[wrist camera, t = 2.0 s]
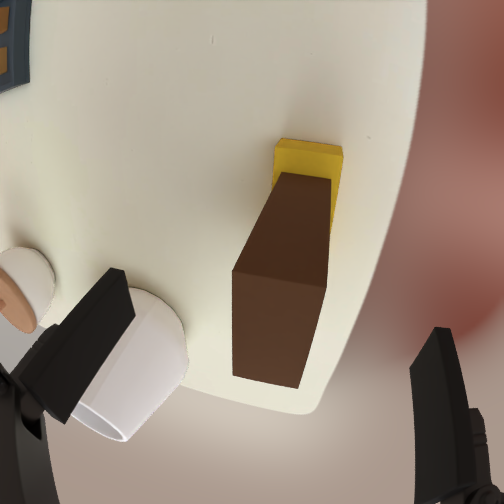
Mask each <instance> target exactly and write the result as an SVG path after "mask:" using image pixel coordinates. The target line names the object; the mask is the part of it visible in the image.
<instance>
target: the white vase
mask: <svg viewBox="0 0 504 504" xmlns="http://www.w3.org/2000/svg"><path fill="white" fill-rule="evenodd" d="M129 292H130V296H131V299H132V303H133V307H134V310H135V314H136V316H135V318H134V319H133V321H132V322H131V324H130V325H129V326H128V328H127V329H126V331H125V332H124V334H123V335H122V337H121V338H120V340H119V341H118V342H117V344H116V345H115V347H114V348H113V350H112V351H111V353H110V354H109V356H108V357H107V359H106V360H105V362H104V363H103V365H102V366H101V368H100V369H99V371H98V372H97V374H96V375H95V377H94V379H93V380H92V382H91V383H90V385H89V386H88V388H87V389H86V391H85V393H84V394H83V396H82V397H81V399H80V400H79V402H78V404H77V405H76V407H75V409H74V410H73V412H72V413H71V415H72V416H73V417H74V418H76V419H77V420H78V421H80V422H81V423H82V424H84V425H85V426H87V427H89V428H90V429H92V430H94V431H95V432H97V433H99V434H101V435H103V436H105V437H107V438H110V439H113V440H116V441H121V442H122V441H127V440H129V438H130V437H131V436H132V435H133V434H134V433H135V432H136V431H137V430H138V429H139V428H140V427H141V426H142V425H143V423H144V422H145V421H146V420H147V419H148V418H149V417H150V416H151V415H152V413H154V411H155V410H156V409H157V408H158V407H159V406H160V405H161V404H162V403H163V402H164V401H165V399H166V398H167V397H168V396H169V395H170V394H171V393H172V392H173V391H174V389H175V388H176V387H177V386H178V385H179V384H180V383H181V381H182V380H183V378H184V376H185V374H186V372H187V369H188V366H189V357H188V352H187V346H186V341H185V335H184V330H183V326H182V322H181V320H180V319H179V318H178V316H177V315H176V313H175V312H174V310H173V309H172V308H171V307H169V306H168V305H167V304H166V303H165V302H164V301H162V300H161V299H160V298H159V297H157V296H155V295H153V294H151V293H149V292H147V291H145V290H141V289H136V288H131V287H130V288H129Z"/></svg>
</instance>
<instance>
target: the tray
mask: <svg viewBox="0 0 504 504" xmlns="http://www.w3.org/2000/svg"><path fill="white" fill-rule="evenodd" d="M0 7H9V16H8V30H7V31H5V32H4V33H2V34H0V48H3V47H7V72H6V73H4V74H2V75H0V94H1V93H3V92H5V91H8V90H10V89H13V88H15V87H18V86H21V85H23V84H26V83H29V82H30V80H29V26H30V11H31V0H0Z"/></svg>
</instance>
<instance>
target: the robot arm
mask: <svg viewBox="0 0 504 504" xmlns="http://www.w3.org/2000/svg"><path fill="white" fill-rule="evenodd" d="M135 316H136V314H135V310H134V307H133V303H132V299H131V296H130V292H129V288H128V284H127V280H126V276H125V272H124V271H123V270H119V269H115V268H110V269H109V270H108V271H107V272H106V273H105V274H104V275H103V276H102V277H101V278H100V279H99V280H98V282H97V283H96V284H95V285H94V286H93V287H92V288H91V289H90V290H89V291H88V293H87V294H86V295H85V296H84V297H83V298H82V299H81V300H80V302H79V303H78V304H77V305H76V306H75V307H74V308H73V310H72V311H71V312H70V313H69V314H68V315H67V317H66V318H65V319H64V320H63V321H62V323H61V324H60V325H57V324H53V325H52V326H50V327H49V328H47V329H46V330H45V331H44V332H43V333H42V334H41V336H40V337H39V338H38V341H36V342H35V343H34V344H33V345H32V348H30V349H29V350H28V352H27V353H26V354H25V356H24V357H23V358H22V359H21V361H20V362H19V363H18V365H17V366H16V367H15V368H14V370H13V371H12V372H11V373H10V374H9V373H8V372H7V371H6V370H5V368H4V367H3V366H2V364H1V363H0V504H60V503H59V499H58V495H57V491H56V486H55V482H54V477H53V472H52V467H51V461H50V455H49V449H48V442H47V434H46V426H45V418H44V414H43V411H44V410H46V411H47V412H48V413H49V414H50V415H51V416H52V417H53V418H55V419H56V420H58V421H60V422H61V423H63V424H65V423H66V422H67V420H68V418H69V417H70V415H71V413H72V412H73V410H74V409H75V407H76V405H77V404H78V402H79V400H80V399H81V397H82V396H83V394H84V393H85V391H86V389H87V388H88V386H89V385H90V383H91V382H92V380H93V379H94V377H95V375H96V374H97V372H98V371H99V369H100V368H101V366H102V365H103V363H104V362H105V360H106V359H107V357H108V356H109V354H110V353H111V351H112V350H113V348H114V347H115V345H116V344H117V342H118V341H119V340H120V338H121V337H122V335H123V334H124V332H125V331H126V329H127V328H128V326H129V325H130V324H131V322H132V321H133V319H134V318H135ZM409 369H410V378H411V387H412V399H413V411H414V426H415V427H414V429H415V498H414V504H435V503H438V502H440V504H504V493H502V492H500V490H499V489H498V487H497V486H495V485H493V484H492V482H491V476H490V463H489V453H488V445H487V444H486V442H487V438H486V434H485V432H486V431H485V425H484V419H483V417H482V415H481V413H480V412H479V410H478V408H469V406H468V401H467V395H466V390H465V385H464V381H463V376H462V372H461V368H460V363H459V359H458V355H457V351H456V348H455V344H454V340H453V337H452V333H451V330H450V328H441V327H434V329H433V331H432V333H431V334H430V336H429V338H428V339H427V341H426V343H425V344H424V346H423V348H422V349H421V351H420V352H419V354H418V356H417V357H416V359H415V360H414V362H413V364H412V365H411V366H410V368H409Z"/></svg>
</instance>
